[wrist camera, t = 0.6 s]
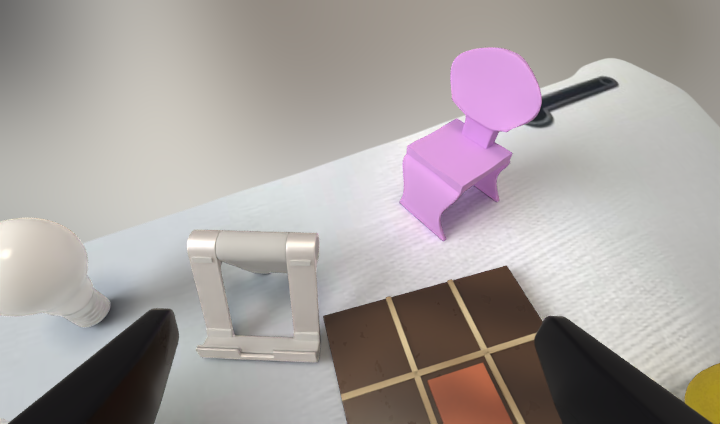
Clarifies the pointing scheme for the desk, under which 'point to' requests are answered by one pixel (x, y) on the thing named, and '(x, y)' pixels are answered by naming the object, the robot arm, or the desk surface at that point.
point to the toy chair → (470, 133)
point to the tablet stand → (260, 257)
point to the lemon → (705, 393)
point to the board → (443, 356)
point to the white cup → (3, 421)
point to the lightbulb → (46, 273)
